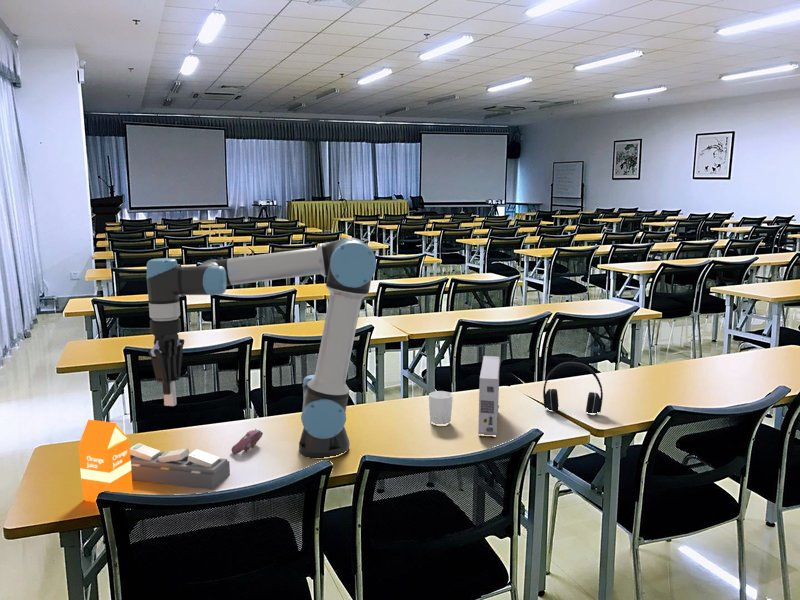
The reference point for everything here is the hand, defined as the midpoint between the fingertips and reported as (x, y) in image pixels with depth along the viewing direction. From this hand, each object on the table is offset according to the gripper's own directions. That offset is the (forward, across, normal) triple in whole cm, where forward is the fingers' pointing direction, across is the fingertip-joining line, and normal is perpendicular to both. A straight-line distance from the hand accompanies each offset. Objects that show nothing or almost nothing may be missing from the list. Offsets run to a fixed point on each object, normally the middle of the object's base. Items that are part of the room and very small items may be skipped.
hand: (170, 404), depth 168 cm
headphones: (+21, -78, +106) cm, 133 cm away
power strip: (+20, 0, 0) cm, 20 cm away
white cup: (+21, -57, +63) cm, 87 cm away
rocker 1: (+14, 0, -9) cm, 17 cm away
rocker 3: (+14, 0, +9) cm, 17 cm away
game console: (+21, -60, +79) cm, 101 cm away
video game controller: (+21, -22, +10) cm, 32 cm away
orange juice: (+21, +14, -10) cm, 27 cm away
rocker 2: (+14, 0, 0) cm, 14 cm away
